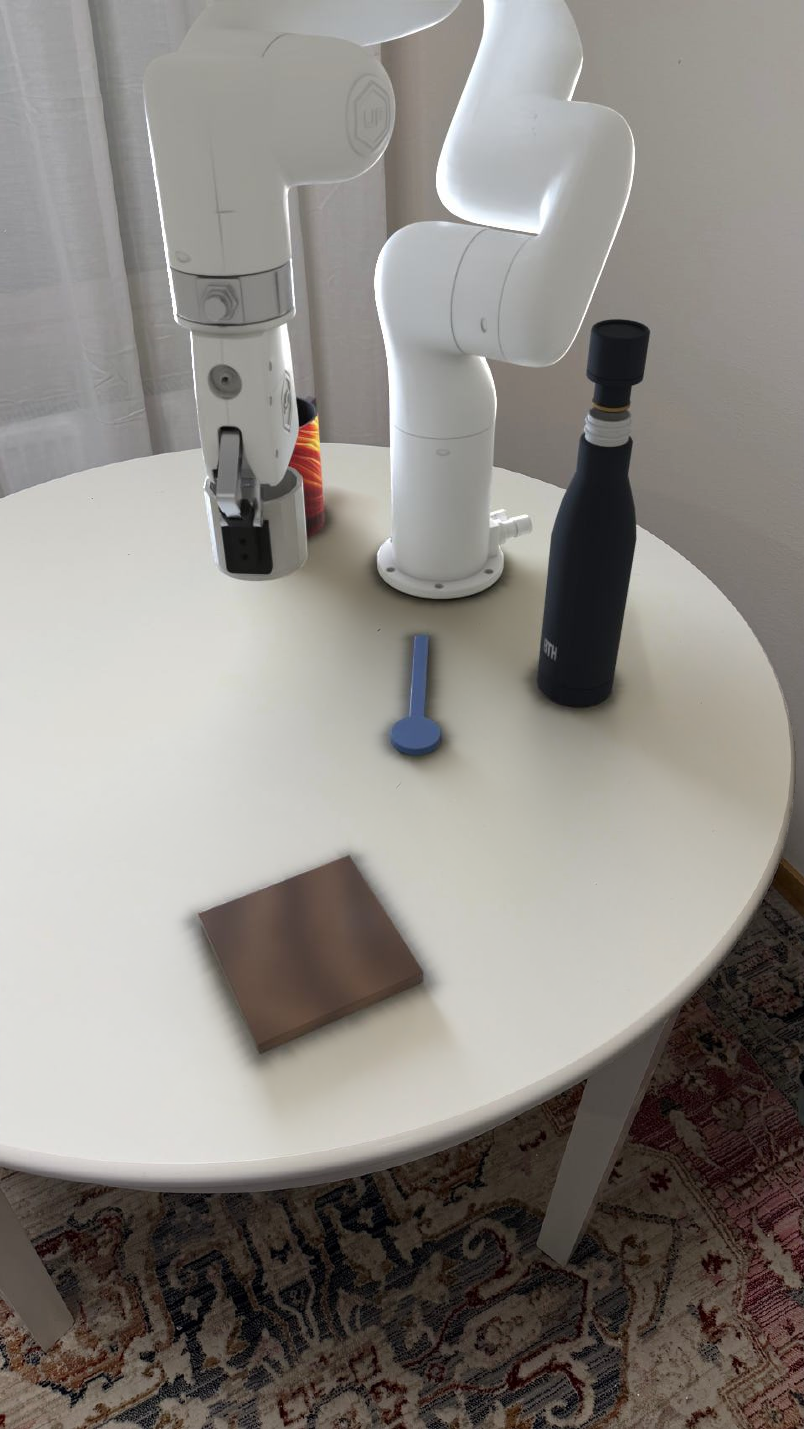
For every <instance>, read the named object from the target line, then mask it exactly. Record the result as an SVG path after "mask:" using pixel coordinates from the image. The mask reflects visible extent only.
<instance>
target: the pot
mask: <svg viewBox="0 0 804 1429" xmlns="http://www.w3.org/2000/svg"><path fill="white" fill-rule="evenodd" d="M241 478H255V475H254V473H253V471H252V469H242V471H241ZM216 490H217V484H214V483H213V482H212V481H210V480H209V478H208V477H206V478H205V481H204V486H203V492H204V499H205V507H206V514H207V521H208V528H209V529H208V530H209V536H210V542H211V547H212V549H211V550H212V555H213V559H214V564H215V566H216V568H217V569H218V570H219V571H220V572H221V573H222V574H224V575H226V576H228V577H229V578H232V579H235V580H240V581H245V582H266V581H273V580H279V579H281V578H284V577H287V576H290V575H291V574H293V573H296V572H297V571H298V570H300V569H301V568H302V567H303V566H304V564H305V563H306V562H307V559H308V538H307V534H306V521H305V507H304V494H303V480H302V476H301V475H300V474H299V473H298V471H297V470H296V469H294V468H292V467H290V466H288V467H287V470H286V472H285V475H284V477H283V479H282V480H281V481H280V482H279V483H278V484H277V485H276V486H270V484H264V520H269V529H270V539H271V550H272V560H273V569H272V572H271V573H270V574H267V575H265V574H234V573H230V572H228V571H227V569H226V561H225V554H224V546H223V539H222V531H221V524H220V512H219V510H218V504H217V500H216ZM241 493H242V499H248V501H249V502H250V504H251V505H252V487H241Z"/></svg>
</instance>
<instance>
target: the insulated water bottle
mask: <svg viewBox="0 0 804 1429" xmlns="http://www.w3.org/2000/svg"><path fill="white" fill-rule="evenodd" d="M650 336H651V330H650V328H649V326H647V325H645V324H644V323H641V322H639V321H636V320H630V319H623V318H617V319H616V318H614V319H613V318H611V319H604V320H600V321H598V322H596V323H594V324H592V327H591V329H590V336H589V346H588V353H587V354H588V355H587V363H586V371H585V376H586V379H588V380H589V381H590V382H592V383H594V392H593V396H592V399H591V405H592V406H591V407H590V408H589V409H588V411H587V415H585V417H584V423H585V425H584V427H583V433H582V434H581V435H580V436H579V443H578V451H577V459H576V467H575V468H576V469H575V472H574V474H573V476H572V478H571V481H570V482H569V484H568V486H567V488H566V490H565V491H564V492H565V493H564V494H563V497H562V499H561V502H560V504H559V507H558V511H557V513H556V517H555V520H554V523H553V527H552V530H551V533H550V544H549V552H548V565H547V574H546V584H545V595H544V603H543V604H544V605H543V614H542V623H541V624H542V625H541V634H540V643H539V653H538V663H537V664H538V665H537V672H536V674H537V675H536V683H537V688H538V689H539V691H540V692H541V693H542V695H543V696H544V697H546V698H547V699H548V700H550V701H551V702H553V703H555V704H558V705H561V706H566V707H571V708H588V707H592V706H596V705H599V704H600V703H602V702H604V701H606V700H607V699H608V697H609V696H610V695H611V694H612V692H613V687H614V679H615V674H616V668H617V661H618V656H619V649H620V644H621V638H622V630H623V624H624V619H625V612H626V606H627V601H628V594H629V588H630V583H631V582H630V581H631V575H632V571H633V570H632V569H633V564H634V563H633V562H634V556H635V552H636V545H637V538H638V537H637V516H636V515H637V514H636V506H635V501H634V496H633V491H632V487H631V486H632V485H631V482H630V476H629V472H630V466H631V458H632V452H633V445H634V440H633V438H632V436H631V435H632V432H633V430H632V426H633V423H634V421H633V418H632V411H630V410H629V409H630V407H631V404H632V401H631V397H632V389H633V386H636V385H638V384H640V383H641V382H643V380H644V376H645V370H646V363H647V357H648V350H649V343H650Z"/></svg>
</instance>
